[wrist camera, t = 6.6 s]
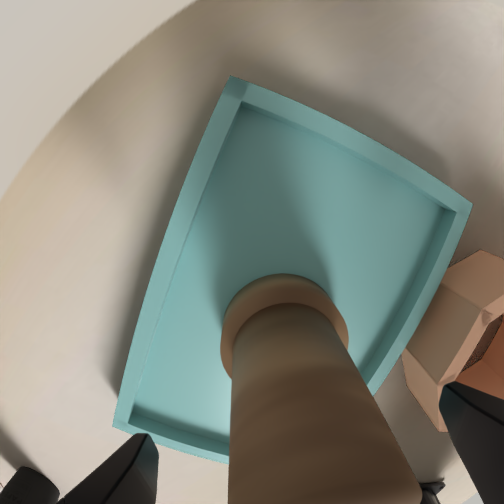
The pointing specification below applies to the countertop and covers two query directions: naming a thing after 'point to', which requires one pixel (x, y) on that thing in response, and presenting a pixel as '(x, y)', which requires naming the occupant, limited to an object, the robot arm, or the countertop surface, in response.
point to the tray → (281, 255)
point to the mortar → (458, 334)
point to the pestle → (303, 404)
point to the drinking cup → (29, 489)
